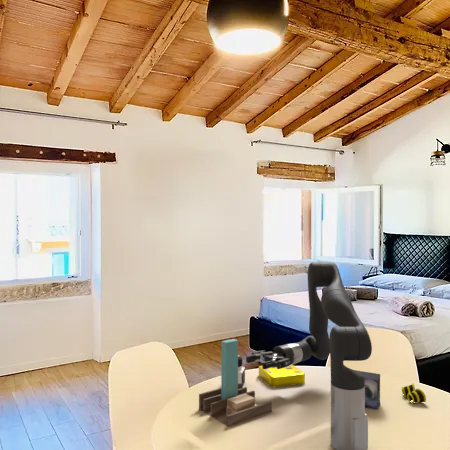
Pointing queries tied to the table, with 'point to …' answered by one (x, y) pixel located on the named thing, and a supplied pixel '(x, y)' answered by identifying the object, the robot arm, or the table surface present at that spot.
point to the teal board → (229, 369)
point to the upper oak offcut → (240, 402)
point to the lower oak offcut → (230, 411)
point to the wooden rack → (217, 407)
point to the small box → (371, 390)
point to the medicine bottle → (241, 371)
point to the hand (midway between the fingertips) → (254, 362)
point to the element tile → (282, 376)
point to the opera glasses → (414, 393)
